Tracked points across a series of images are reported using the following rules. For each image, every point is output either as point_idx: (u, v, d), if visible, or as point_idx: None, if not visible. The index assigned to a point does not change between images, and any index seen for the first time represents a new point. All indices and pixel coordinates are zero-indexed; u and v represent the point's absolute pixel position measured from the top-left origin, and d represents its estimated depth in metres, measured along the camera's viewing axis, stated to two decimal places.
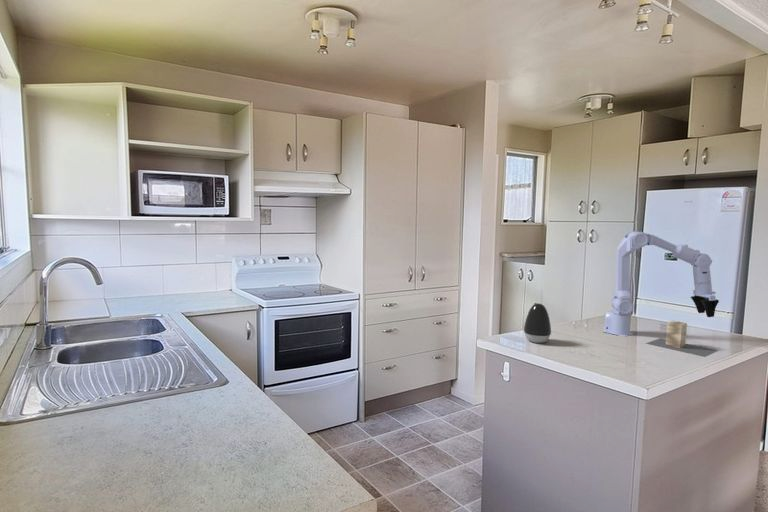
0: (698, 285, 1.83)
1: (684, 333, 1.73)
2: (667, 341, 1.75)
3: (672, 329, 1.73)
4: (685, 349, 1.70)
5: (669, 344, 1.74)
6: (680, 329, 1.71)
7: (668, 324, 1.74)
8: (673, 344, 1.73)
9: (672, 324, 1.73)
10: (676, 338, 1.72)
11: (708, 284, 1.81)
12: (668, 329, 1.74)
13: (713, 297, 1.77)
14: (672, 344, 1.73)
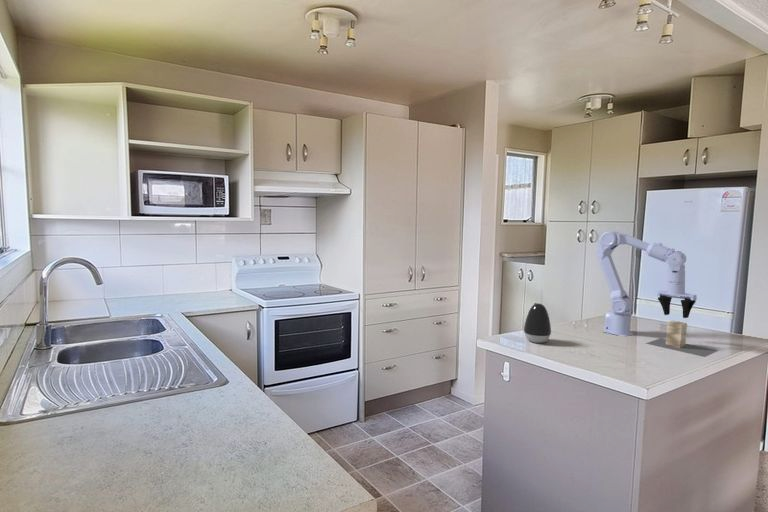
0: (676, 285, 1.75)
1: (684, 333, 1.73)
2: (667, 341, 1.75)
3: (672, 329, 1.73)
4: (685, 349, 1.70)
5: (669, 344, 1.74)
6: (680, 329, 1.71)
7: (668, 324, 1.74)
8: (673, 344, 1.73)
9: (672, 324, 1.73)
10: (676, 338, 1.72)
11: (684, 284, 1.75)
12: (668, 329, 1.74)
13: (695, 297, 1.71)
14: (672, 344, 1.73)
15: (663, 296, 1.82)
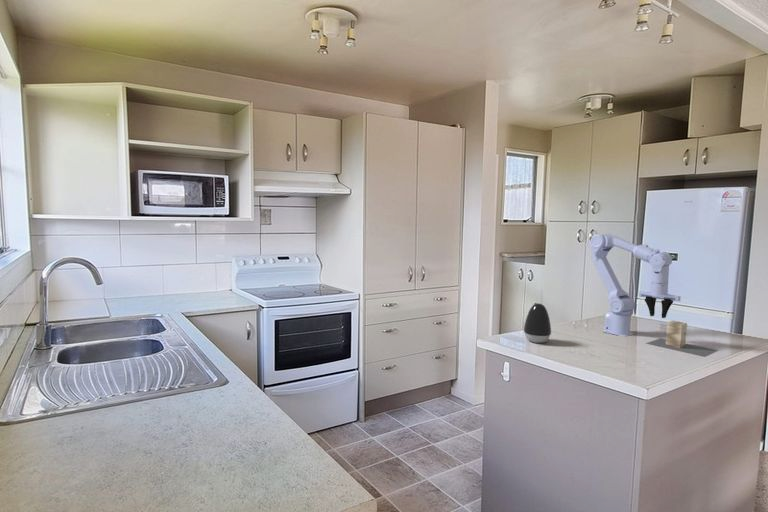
0: (661, 286, 1.76)
1: (684, 333, 1.73)
2: (667, 341, 1.75)
3: (672, 329, 1.73)
4: (685, 349, 1.70)
5: (669, 344, 1.74)
6: (680, 329, 1.71)
7: (668, 324, 1.74)
8: (673, 344, 1.73)
9: (672, 324, 1.73)
10: (676, 338, 1.72)
11: None
12: (668, 329, 1.74)
13: (679, 298, 1.73)
14: (672, 344, 1.73)
15: None
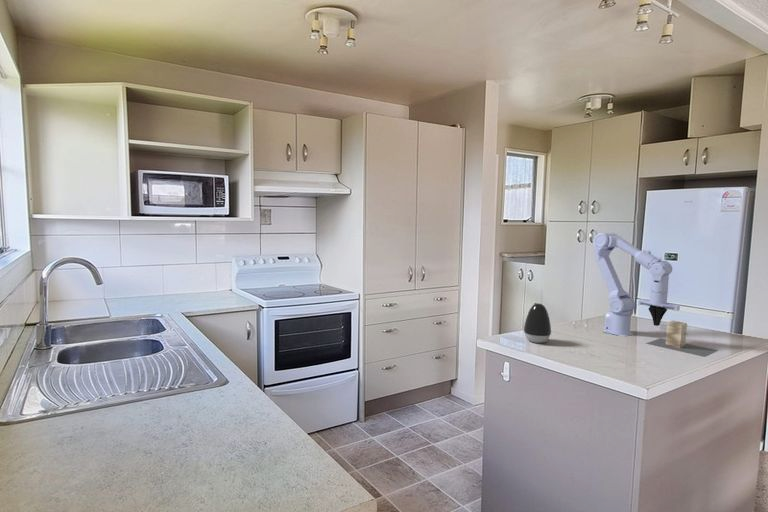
0: (661, 294, 1.76)
1: (684, 333, 1.73)
2: (667, 341, 1.75)
3: (672, 329, 1.73)
4: (685, 349, 1.70)
5: (669, 344, 1.74)
6: (680, 329, 1.71)
7: (668, 324, 1.74)
8: (673, 344, 1.73)
9: (672, 324, 1.73)
10: (676, 338, 1.72)
11: None
12: (668, 329, 1.74)
13: (678, 307, 1.74)
14: (672, 344, 1.73)
15: None
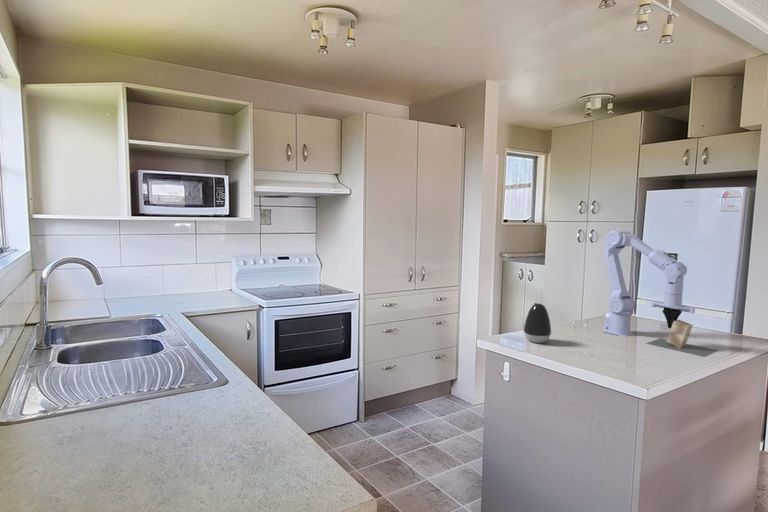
0: (675, 296, 1.72)
1: (687, 334, 1.72)
2: (668, 339, 1.74)
3: (676, 328, 1.72)
4: (685, 349, 1.70)
5: (670, 342, 1.74)
6: (685, 330, 1.70)
7: (674, 323, 1.73)
8: (674, 343, 1.73)
9: (678, 324, 1.71)
10: (678, 338, 1.71)
11: None
12: (672, 328, 1.73)
13: (694, 309, 1.69)
14: (673, 343, 1.73)
15: None
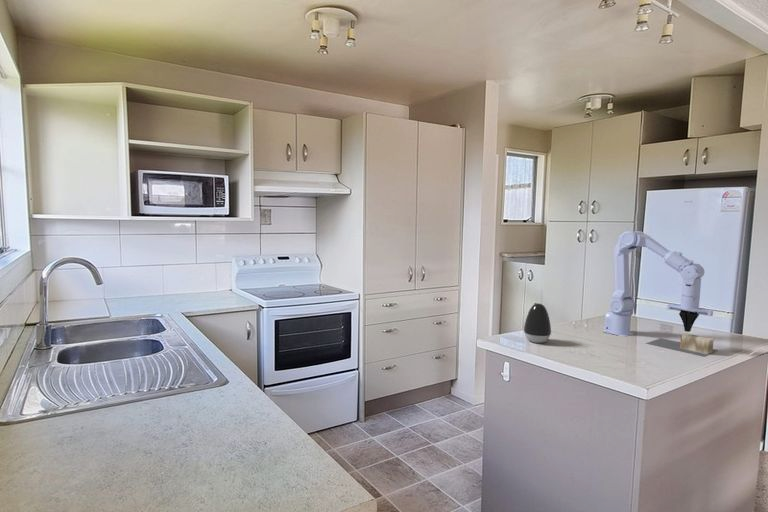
0: (693, 299, 1.67)
1: None
2: (685, 337, 1.70)
3: (700, 344, 1.66)
4: (685, 349, 1.70)
5: (682, 339, 1.71)
6: (701, 352, 1.66)
7: (706, 341, 1.64)
8: (683, 342, 1.70)
9: (706, 345, 1.64)
10: (690, 346, 1.68)
11: (699, 298, 1.68)
12: (700, 340, 1.66)
13: (712, 312, 1.65)
14: (682, 342, 1.70)
15: None
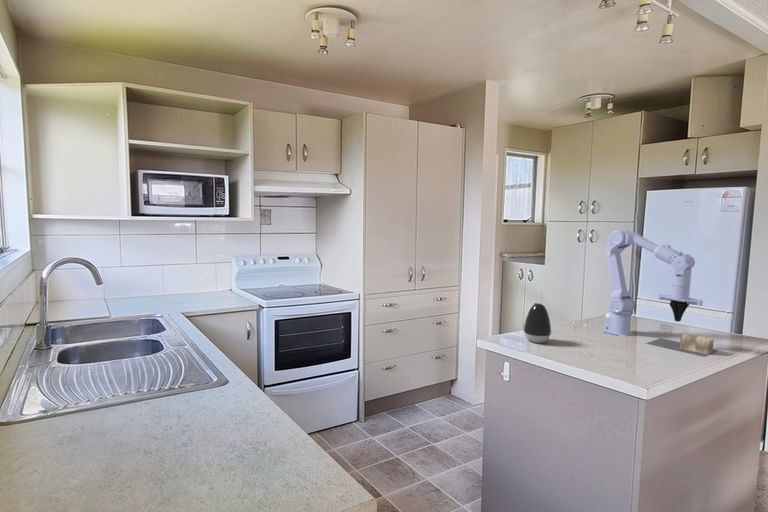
0: (683, 289, 1.70)
1: None
2: (685, 337, 1.70)
3: (700, 344, 1.66)
4: (685, 349, 1.70)
5: (682, 339, 1.71)
6: (701, 352, 1.66)
7: (706, 341, 1.64)
8: (683, 342, 1.70)
9: (706, 345, 1.64)
10: (690, 346, 1.68)
11: (689, 288, 1.71)
12: (700, 340, 1.66)
13: (701, 302, 1.67)
14: (682, 342, 1.70)
15: None
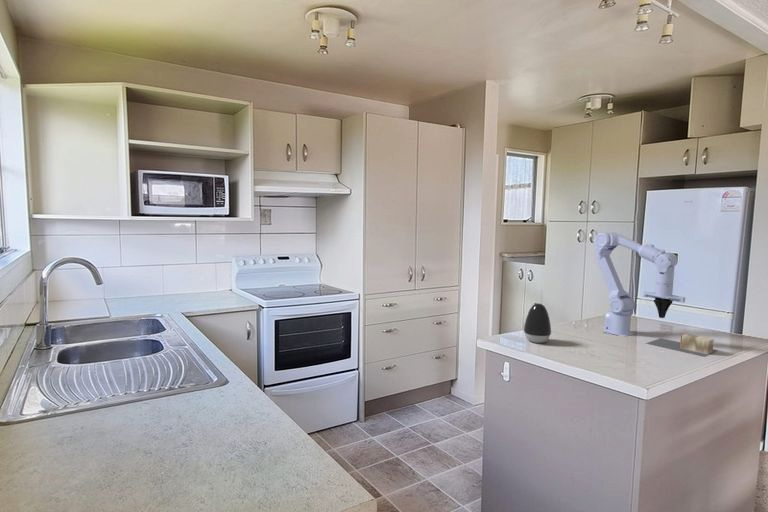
0: (666, 286, 1.74)
1: None
2: (685, 337, 1.70)
3: (700, 344, 1.66)
4: (685, 349, 1.70)
5: (682, 339, 1.71)
6: (701, 352, 1.66)
7: (706, 341, 1.64)
8: (683, 342, 1.70)
9: (706, 345, 1.64)
10: (690, 346, 1.68)
11: (672, 286, 1.75)
12: (700, 340, 1.66)
13: (684, 299, 1.72)
14: (682, 342, 1.70)
15: None
